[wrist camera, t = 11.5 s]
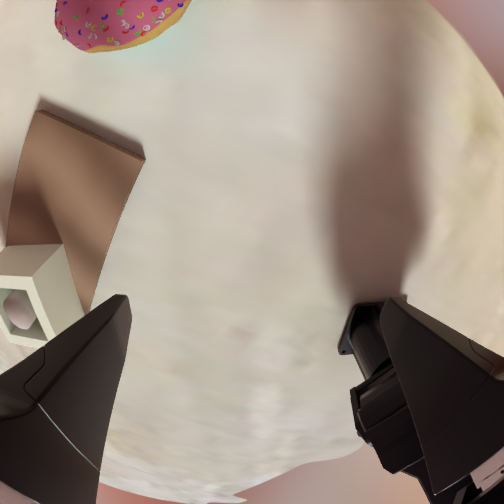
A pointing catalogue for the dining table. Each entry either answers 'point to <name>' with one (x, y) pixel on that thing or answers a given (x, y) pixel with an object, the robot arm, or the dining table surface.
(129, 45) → the cupcake
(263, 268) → the dining table surface
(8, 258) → the square hollow sleeve
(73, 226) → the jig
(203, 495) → the dining table surface
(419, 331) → the robot arm
